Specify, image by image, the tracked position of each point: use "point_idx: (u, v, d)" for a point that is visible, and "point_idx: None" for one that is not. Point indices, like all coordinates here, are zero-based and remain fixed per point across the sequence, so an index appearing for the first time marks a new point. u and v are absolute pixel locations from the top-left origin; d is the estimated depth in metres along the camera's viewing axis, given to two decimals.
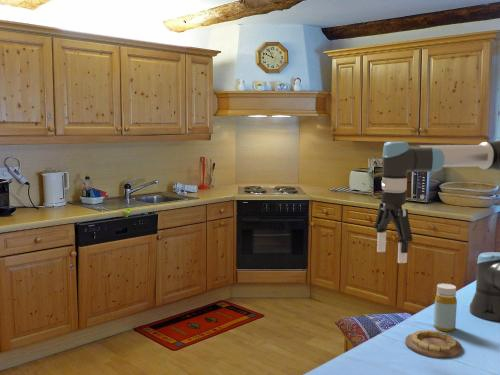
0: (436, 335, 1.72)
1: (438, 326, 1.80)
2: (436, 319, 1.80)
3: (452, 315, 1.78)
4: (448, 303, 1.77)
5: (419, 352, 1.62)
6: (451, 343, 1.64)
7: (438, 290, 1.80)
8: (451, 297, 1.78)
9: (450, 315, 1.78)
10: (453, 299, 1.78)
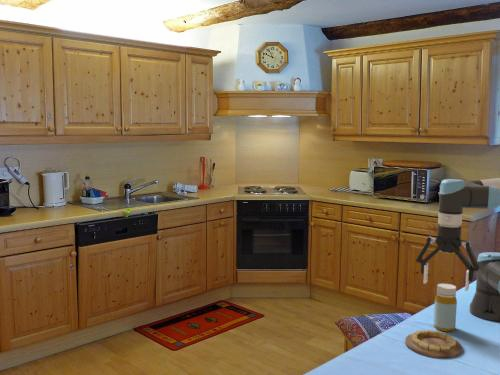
0: (436, 335, 1.72)
1: (438, 326, 1.80)
2: (436, 319, 1.80)
3: (452, 315, 1.78)
4: (448, 303, 1.77)
5: (419, 352, 1.62)
6: (451, 343, 1.64)
7: (438, 290, 1.80)
8: (451, 297, 1.78)
9: (450, 315, 1.78)
10: (453, 299, 1.78)
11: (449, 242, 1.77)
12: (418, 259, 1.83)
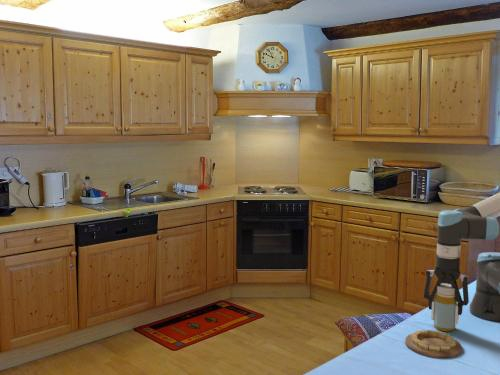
0: (436, 335, 1.72)
1: (438, 326, 1.80)
2: (436, 319, 1.80)
3: (452, 315, 1.78)
4: (448, 303, 1.77)
5: (419, 352, 1.62)
6: (451, 343, 1.64)
7: (438, 290, 1.80)
8: (451, 297, 1.78)
9: (450, 314, 1.78)
10: (453, 299, 1.78)
11: (448, 271, 1.78)
12: (425, 295, 1.83)
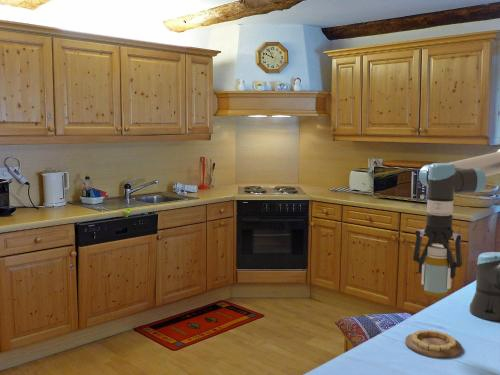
0: (436, 335, 1.72)
1: (429, 290, 1.63)
2: (427, 283, 1.64)
3: (444, 278, 1.62)
4: (439, 265, 1.61)
5: (419, 352, 1.62)
6: (451, 343, 1.64)
7: (429, 251, 1.63)
8: (443, 258, 1.61)
9: (442, 277, 1.61)
10: (445, 261, 1.61)
11: (440, 229, 1.62)
12: (415, 257, 1.67)
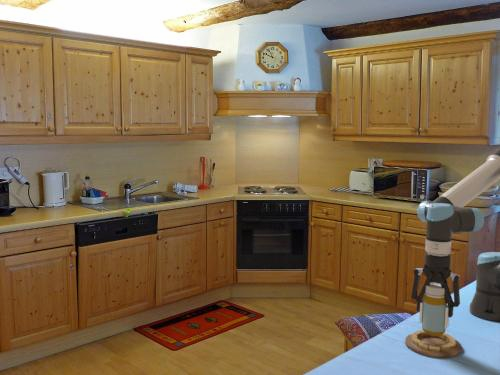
0: (436, 335, 1.72)
1: (427, 329, 1.65)
2: (425, 321, 1.65)
3: (441, 317, 1.63)
4: (437, 304, 1.62)
5: (419, 352, 1.62)
6: (451, 343, 1.64)
7: (427, 290, 1.65)
8: (441, 298, 1.63)
9: (440, 317, 1.63)
10: (442, 300, 1.63)
11: (438, 269, 1.63)
12: (413, 296, 1.68)
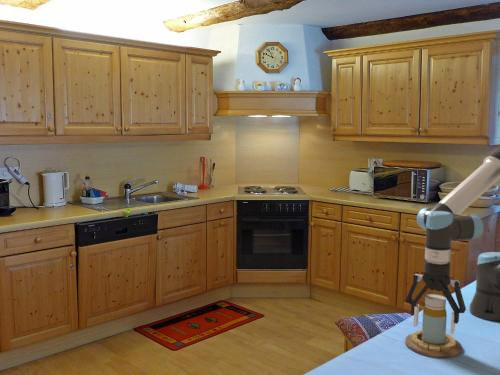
0: None
1: (427, 341, 1.65)
2: (424, 333, 1.66)
3: (441, 329, 1.64)
4: (437, 316, 1.63)
5: (419, 352, 1.62)
6: (451, 343, 1.64)
7: (426, 302, 1.65)
8: (440, 309, 1.63)
9: (439, 328, 1.63)
10: (442, 312, 1.63)
11: (437, 278, 1.64)
12: (408, 300, 1.69)
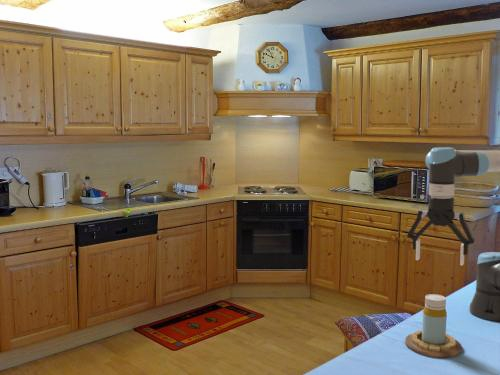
0: None
1: (427, 341, 1.65)
2: (424, 333, 1.66)
3: (441, 329, 1.64)
4: (437, 316, 1.63)
5: (419, 352, 1.62)
6: (451, 343, 1.64)
7: (426, 302, 1.65)
8: (440, 309, 1.63)
9: (439, 328, 1.63)
10: (442, 312, 1.63)
11: (441, 215, 1.66)
12: (409, 234, 1.72)
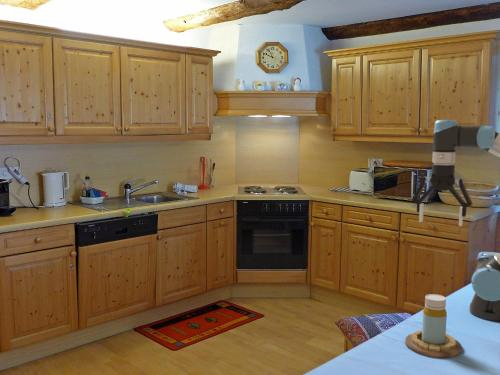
0: None
1: (427, 341, 1.65)
2: (424, 333, 1.66)
3: (441, 329, 1.64)
4: (437, 316, 1.63)
5: (419, 352, 1.62)
6: (451, 343, 1.64)
7: (426, 302, 1.65)
8: (440, 309, 1.63)
9: (439, 328, 1.63)
10: (442, 312, 1.63)
11: (443, 180, 1.85)
12: (414, 198, 1.91)
